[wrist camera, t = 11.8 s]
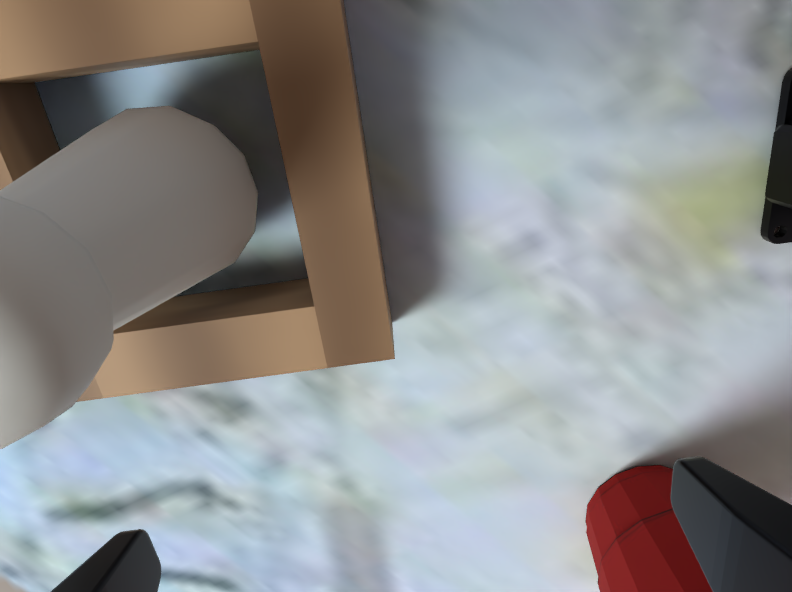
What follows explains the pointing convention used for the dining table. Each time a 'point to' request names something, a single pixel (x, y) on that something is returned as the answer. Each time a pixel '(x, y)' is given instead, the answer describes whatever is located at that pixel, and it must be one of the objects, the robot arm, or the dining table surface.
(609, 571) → the plastic cup
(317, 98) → the frame
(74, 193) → the salt shaker
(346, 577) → the dining table surface
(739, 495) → the robot arm
